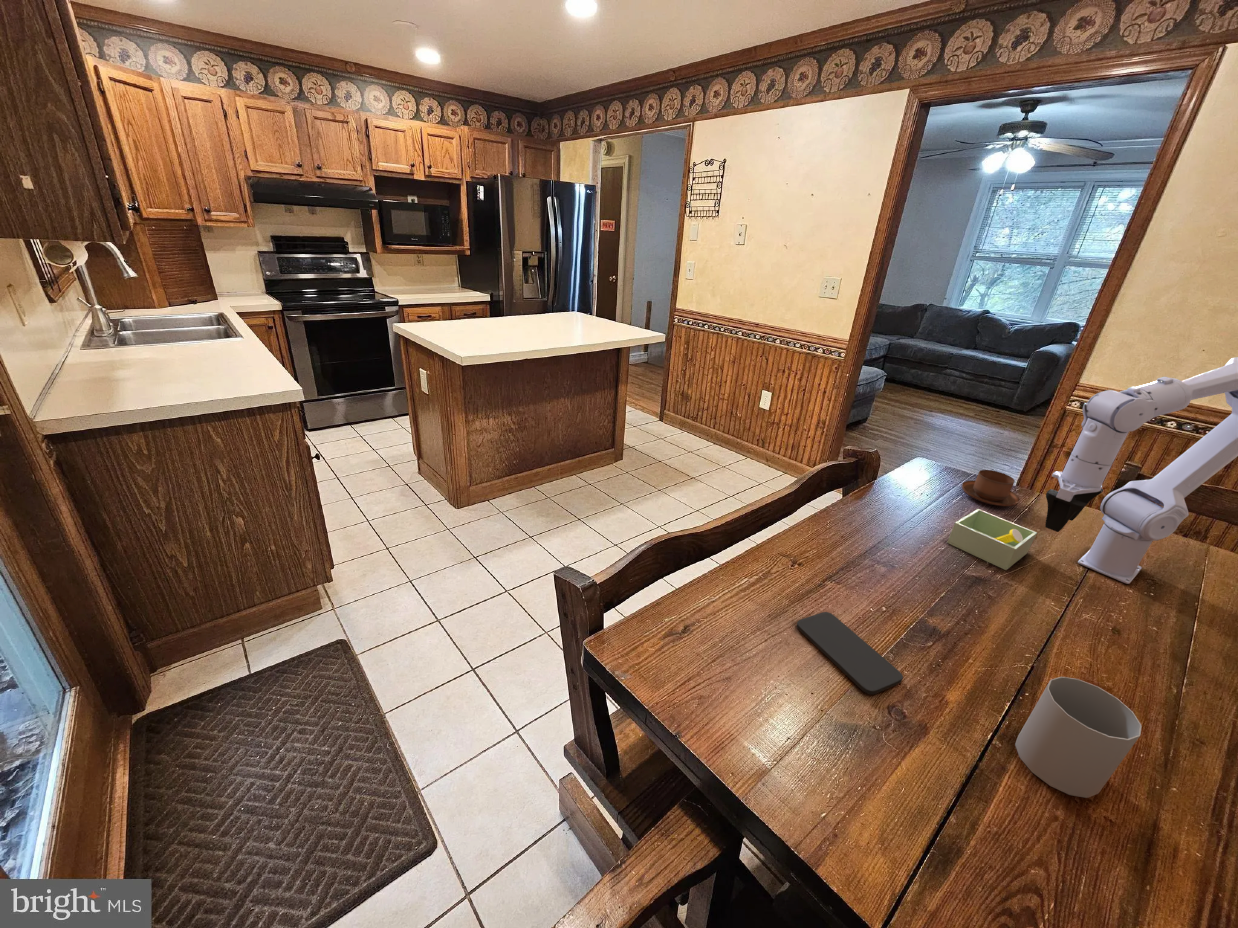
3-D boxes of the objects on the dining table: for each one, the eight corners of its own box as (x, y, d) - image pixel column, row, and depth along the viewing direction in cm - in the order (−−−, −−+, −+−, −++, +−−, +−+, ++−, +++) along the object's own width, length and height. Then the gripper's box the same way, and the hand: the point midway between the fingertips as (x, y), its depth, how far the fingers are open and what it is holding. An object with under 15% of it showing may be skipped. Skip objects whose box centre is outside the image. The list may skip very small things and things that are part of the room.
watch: (983, 553, 104) (1012, 545, 99) (976, 540, 105) (1005, 532, 100) (1000, 547, 107) (1029, 539, 102) (993, 534, 108) (1021, 525, 103)
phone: (828, 610, 85) (907, 677, 73) (827, 614, 85) (905, 681, 73) (793, 621, 82) (869, 693, 70) (792, 625, 82) (868, 697, 70)
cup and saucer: (961, 482, 134) (969, 461, 132) (1016, 497, 128) (1026, 475, 126) (957, 499, 125) (966, 477, 123) (1016, 516, 119) (1027, 493, 117)
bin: (970, 528, 113) (978, 508, 111) (1027, 553, 105) (1037, 532, 103) (946, 542, 107) (954, 522, 105) (1005, 570, 99) (1015, 549, 97)
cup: (999, 733, 66) (1030, 677, 62) (1057, 730, 67) (1091, 675, 63) (1054, 799, 59) (1094, 741, 54) (1119, 795, 60) (1163, 738, 55)
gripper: (1077, 443, 98) (1048, 504, 104) (1050, 458, 90) (1020, 524, 96) (1124, 456, 93) (1091, 520, 99) (1100, 474, 85) (1065, 542, 91)
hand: (1059, 523), depth 97 cm, fingers open, 7 cm apart
